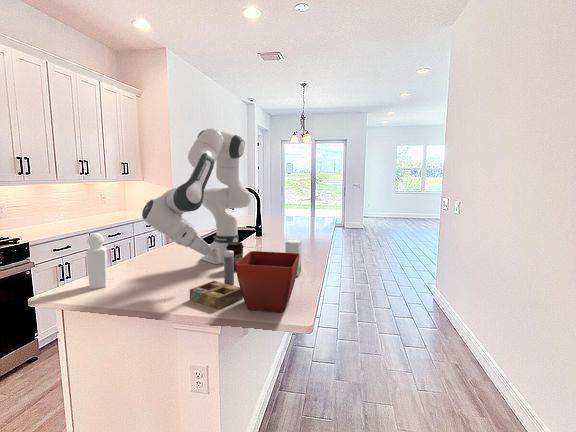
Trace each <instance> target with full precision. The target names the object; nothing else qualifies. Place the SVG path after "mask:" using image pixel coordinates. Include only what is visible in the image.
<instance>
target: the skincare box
mask: <svg viewBox="0 0 576 432" xmlns="http://www.w3.org/2000/svg"><path fill="white" fill-rule="evenodd" d="M284 246H285V252H284V253H298V254H300V256H299V263H298V269H297V274H296V277H299V276H300V274H301V273H302V240H301V239H288V240H286V241H285V245H284Z"/></svg>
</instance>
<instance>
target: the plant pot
mask: <svg viewBox="0 0 576 432" xmlns="http://www.w3.org/2000/svg"><path fill="white" fill-rule="evenodd" d="M299 256H300V254H298V253H285V252H279V251H277V252H276V251H258V250H251V251H249V252H247V253H246V254H245V255H243V258H242V259H240V260H239V261H238V262H237V263H236V264H235V266H236V271H235V273H236V276H237V280H238V284H239V286H238V287H240V289H241V292H242V296H243V301H244V304H245V306H246V308H247V310H249V311H260V312H261V311H262V312H273V313H274V312H275V313H284V312H285V311H286V309H287V306H288V303H289V302H290V299H291V296H292V293H293V290H294V286H295V281H296V278H297V276H296V274H297V269H298V263H299Z"/></svg>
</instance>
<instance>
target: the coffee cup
mask: <svg viewBox="0 0 576 432" xmlns="http://www.w3.org/2000/svg"><path fill="white" fill-rule="evenodd" d="M226 249H227V251H229V250H230V251H234V272H236V266H235V264H236V263H237V262H238V261H239V260H240V259H242V258H243V257H244V243H243V242H242V241H238V242H231V243H228V246H227V247H226Z"/></svg>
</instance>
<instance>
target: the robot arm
mask: <svg viewBox="0 0 576 432" xmlns="http://www.w3.org/2000/svg"><path fill="white" fill-rule="evenodd" d="M245 147H246V143H245V140H244V139H243V137H241V136H240V135H237V134H234V133H233V134H231V133H228V132H225V131H218V129H215V128H206V129H202V130H201V131H200V132H199V133H198V135H197V138H196V140H195V141H194V142H193V144H192V146H191V147H190V149H189V151H188V155H187V159H188V162H189V164H190V165H191V167H193V170H192V172H191V174H190V176H189V178H188V180H187V181H186V182H185V183H182V184H181V185H180V186H177V187H175V188H172V189H169V190H166V192H164V193H163V194H162V195H160V196H159V197H156V198H154V199H150V200H148V202H146V204H145V205H144V207H143V209H142V212H141V217H142V219H143V220H144V222H146V223H147V224H148V225H149V226H150V227H152V228H153V229H154V230H156V231H157V232H159V233H161V234H164V235H165V236H166V237H167V239H170V240H171V241H172V242H174V243H176V245H180V246H183V247H185V248H189V249H192V250H193V251H195V252H197V253H199V254H201V255H202V256H201V257H200V260H201V261H202V260H203V261H205V262H207V263H210V264H214V265H222V264H223V265H224V251H227V249H226V247H227V246H228V243H231V242H239V234H238V220H237V219H236V217H234V216H233V215H231V214H228V213H227V212H226V210H229V209H230V210H231V209H243V208H248V206H249V205H250V204H251V202H252V195H251V193H250V191H249V190H248V189H247V188H245V187H244V185H243V184H242V183H241V181H240V172H239V171H240V168H239V167H240V158H241V157H242V156H243V154H244V153H245ZM215 162H216V163H215ZM215 164H216V167H215ZM214 167H215V168H216V171H215V172H216V174H215V176H216V179H217V181H218V182H220V183H221V184H223V185H225V186H227V187H211V188H206V186H207V184H208V181H209V179H210V177H211V175H212V172H213V169H214ZM202 205H203V207H204V208H206V209H207V210H208V211H210V213H211V215H212V216H213V217H214V221H215V228H216V229H215V230H216V234H215V235H214V236H212V238H213V242H211V243H210V244H208V243H207V242H206V241H205V240H204V239H203V238H201V236H200V235H198V232H197V230H196V229H195V227H194V224H192V223H190V222H189V221H188V220H186V219H185V218H183V214H184V213H185V214H186V213H189V212H194V211H197V210H198V209H200V207H201V206H202Z"/></svg>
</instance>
